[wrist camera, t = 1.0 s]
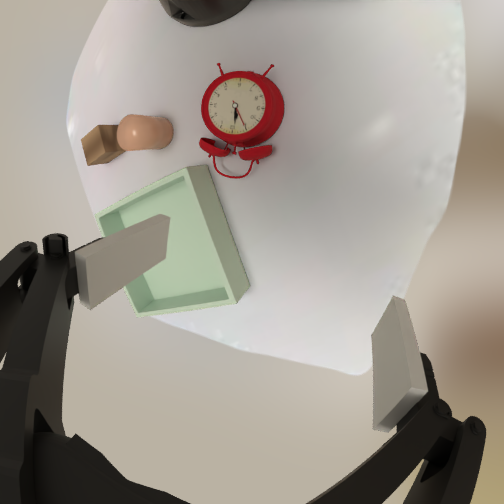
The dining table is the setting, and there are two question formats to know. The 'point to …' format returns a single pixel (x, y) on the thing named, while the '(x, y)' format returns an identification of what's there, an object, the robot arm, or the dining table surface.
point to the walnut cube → (101, 145)
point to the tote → (182, 245)
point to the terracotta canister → (144, 132)
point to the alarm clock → (241, 114)
